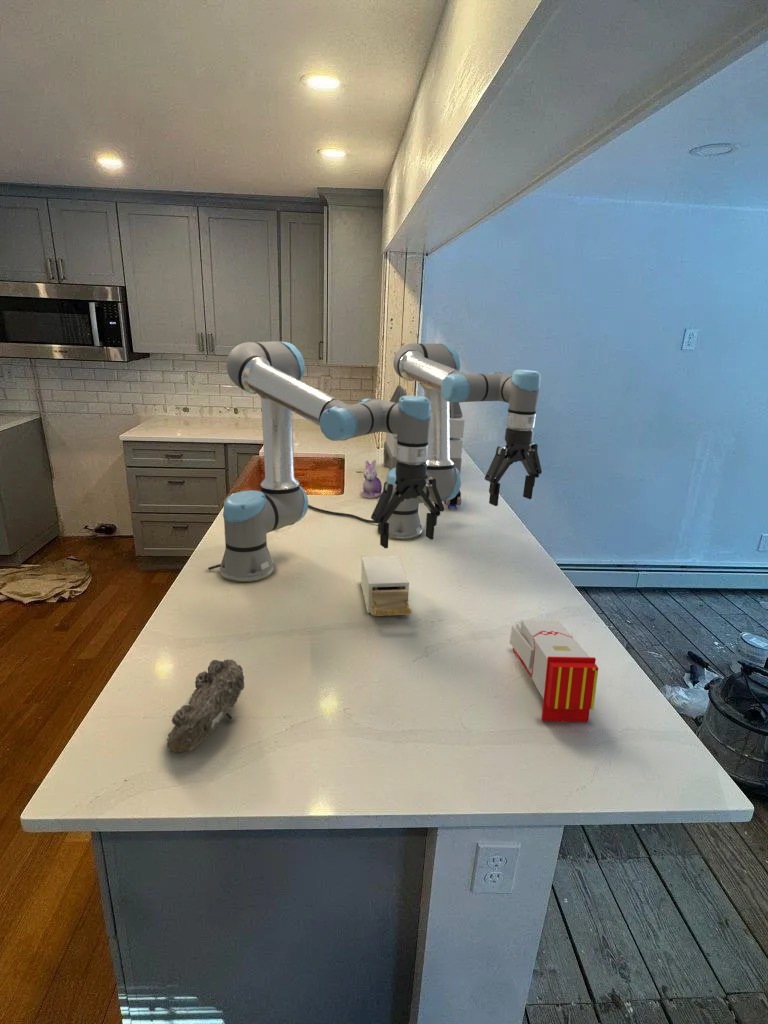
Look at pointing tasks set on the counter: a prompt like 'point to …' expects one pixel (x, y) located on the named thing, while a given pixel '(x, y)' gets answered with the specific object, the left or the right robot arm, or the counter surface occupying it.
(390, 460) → the white slatted crate
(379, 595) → the drawer
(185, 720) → the fossil
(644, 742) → the counter surface
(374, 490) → the figurine
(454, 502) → the figurine character
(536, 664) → the toy
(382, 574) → the cabinet
